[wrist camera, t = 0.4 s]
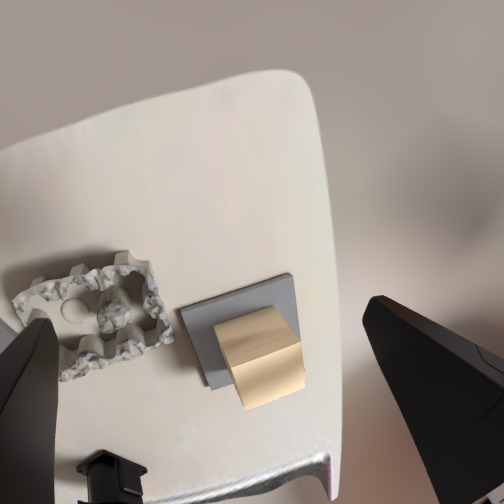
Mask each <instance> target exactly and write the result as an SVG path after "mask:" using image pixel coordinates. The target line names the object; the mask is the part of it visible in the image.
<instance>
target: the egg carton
mask: <svg viewBox="0 0 504 504" xmlns="http://www.w3.org/2000/svg"><path fill="white" fill-rule="evenodd" d="M133 270H135V271H136V272H137V273H139V274H142V275H144V277H145V281H144V283H143V286H142V296H143V310H144V313H145V314H148V315H149V314H150V315H151V317H152V318H154V319H157V322H156V328H154V329H152V330H149V331H143V329H142V328H141V327H139V326H137V325H135V324H127V323H128V322H129V320H130V317H131V304H132V303H131V300H130V296H129V294H128V293H127V291H126V290H124V289H123V288H121V287H118V286H111V285H112V284H113V278H114V274H115V272H118V273H119V275H123V276H124V277H125V276H127V275H129V273H130V272H131V271H133ZM76 278H77V279H78V280H77V281H74V280H75V279H76ZM69 283H70V284H72V283H77V285H81V284H84V285H86V288H87V289H89V290H90V291H92V290H94V289H99V290H100V291H103V290H104V291H103V292H102V294H101V296H100V300H99V305H98V312H97V321H98V324H99V326H100V330H101V331H102V332H103V333H108V334H109V333H112V332H114V331H115V330H117V329H118V330H117V334H116V338H113V339H111V340H109V341H107V342H105V341H104V340H103V339H102V338H101V337H99V336H97V335H92V334H89V335H86V336H84V337H82V338H81V340H80V342H79V346H78V349H76V350H68V349H67V348H66V347H65V346H63V345H61V344H59V372H58V381H60V382H65V381H67V380H70V379H76V378H79V377H81V376H85V375H86V374H87V372H88V371H89V370H92V369H103V368H106V367H107V366H109V365H110V364H114V363H118V362H120V361H125V360H132V359H134V358H136V357H138V356H140V355H142V354H144V353H146V352H148V351H149V350H151V349H154V348H156V347H157V346H159V345H160V344H170V343H172V342H173V341H175V340H174V336H173V330H172V327H171V325H170V323H169V322H168V319H167V314H166V308H165V306H164V303H163V302H162V301H161V299H160V297H159V295H158V287H157V283H156V281H155V280H154V272H153V269H152V265H151V263H150V261H140V260H137V259H136V258H134V257H133V256H132V255H131V253H130V252H129V250H126V251H122V252H119V253H117V254H116V255H115V260H114V265H111V266H106V267H104V268H103V269H98V268H96V269H93V270H92V271H90V270H89V269H88V268H87V267H86V265H85V264H84V263H83V264H79V265H76V266H73V267H72V268H71V271H70V274H69V277H65V278H61V279H54V280H49V281H47V280H46V279H45V277H44V276H41V277H38V278H35V279H33V281H32V283H31V285H30V287H29V289H27V290H24V291H22V292H21V293H19V294H18V295H17V296H16V297H15V298H14V300H12V302H13V304H14V306H15V309H16V312H17V316H18V317H20V318H21V320H22V322H23V324H24V327H26V326H27V325H28V324H29V323H30V322H31V321H32V320H33V319H35V318H49V319H50V320H51V318H50V316H49V315H48V314H47V313H46V312H45V311H43V310H41V309H33V308H32V307H31V304H30V302H29V298H30V297H31V295H35V294H39V295H41V296H42V297H43V298H45V299H46V300H47V301H56V300H59V299H62V301H63V300H64V298H65V295H66V292H67V289H68V286H69ZM132 307H133V306H132ZM61 313H62V315H63V317H64V319H66V320H67V321H68V322H70V323H72V324H82V323H84V322H86V320H87V319H88V317H89V308H88V307H87V305H86V304H85V303H84V302H82V301H81V300H78V299H68V300H66V301H65V302H64V303H63V305H62V308H61ZM51 322H52V320H51ZM52 324H53V323H52Z"/></svg>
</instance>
